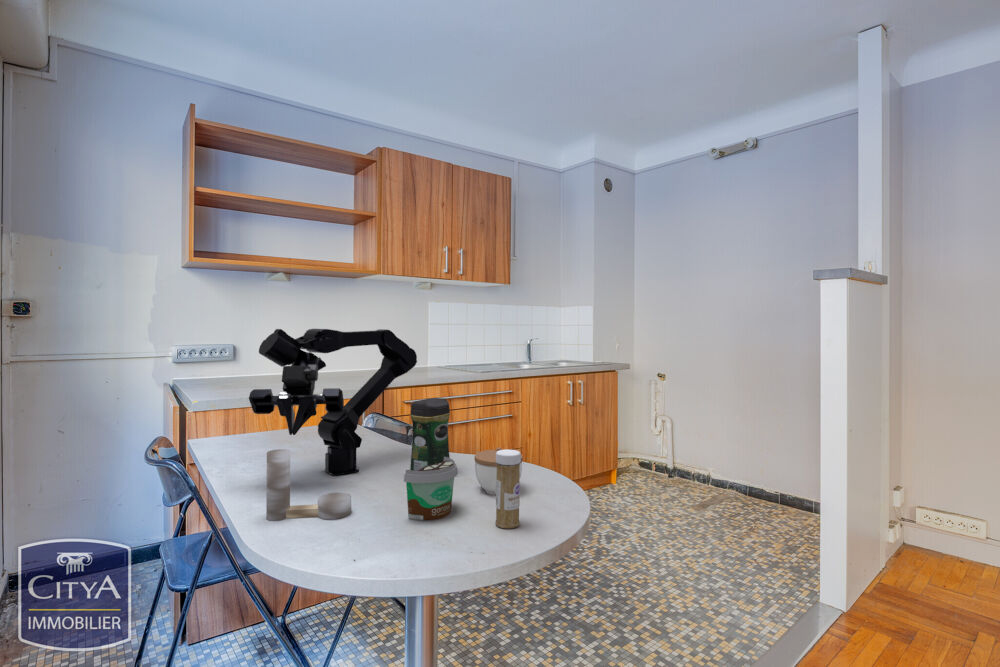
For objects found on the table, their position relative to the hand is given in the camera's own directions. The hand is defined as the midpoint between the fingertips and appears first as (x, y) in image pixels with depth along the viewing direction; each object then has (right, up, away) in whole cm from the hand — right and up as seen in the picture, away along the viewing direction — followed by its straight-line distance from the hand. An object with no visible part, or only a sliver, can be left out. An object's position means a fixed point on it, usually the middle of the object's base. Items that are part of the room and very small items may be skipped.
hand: (291, 433), depth 105 cm
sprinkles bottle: (+44, -14, -12) cm, 48 cm away
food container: (+31, -14, -9) cm, 36 cm away
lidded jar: (+43, -14, +8) cm, 46 cm away
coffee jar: (+26, -14, +19) cm, 35 cm away
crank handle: (+7, -13, -10) cm, 18 cm away
